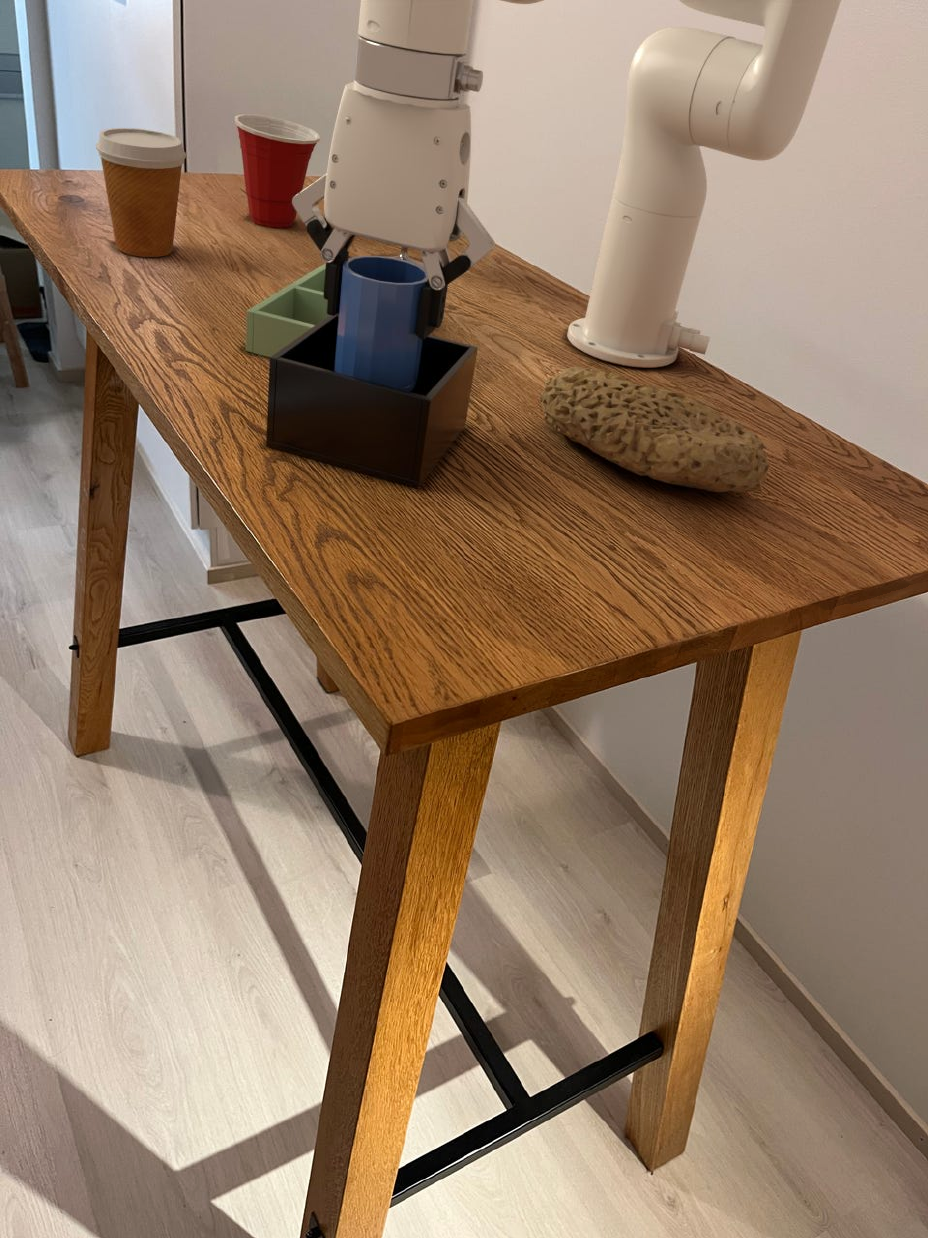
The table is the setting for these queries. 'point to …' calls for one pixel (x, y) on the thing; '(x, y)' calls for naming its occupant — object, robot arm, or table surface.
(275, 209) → the plastic cup
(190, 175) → the table surface
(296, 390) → the open box
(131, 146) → the disposable coffee cup
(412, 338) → the blue cup
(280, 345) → the green divided tray
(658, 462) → the sponge
